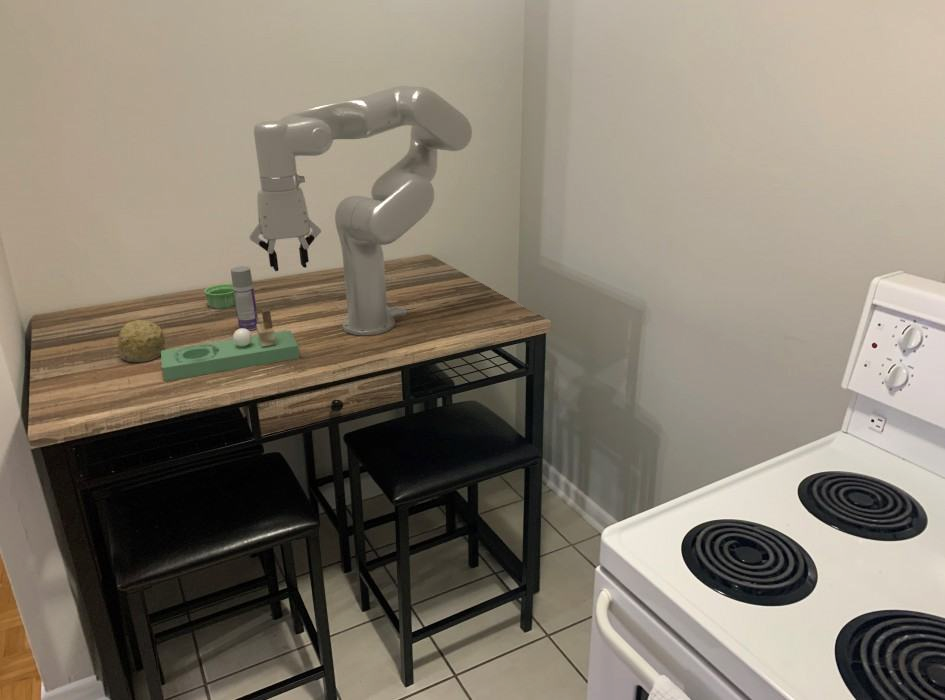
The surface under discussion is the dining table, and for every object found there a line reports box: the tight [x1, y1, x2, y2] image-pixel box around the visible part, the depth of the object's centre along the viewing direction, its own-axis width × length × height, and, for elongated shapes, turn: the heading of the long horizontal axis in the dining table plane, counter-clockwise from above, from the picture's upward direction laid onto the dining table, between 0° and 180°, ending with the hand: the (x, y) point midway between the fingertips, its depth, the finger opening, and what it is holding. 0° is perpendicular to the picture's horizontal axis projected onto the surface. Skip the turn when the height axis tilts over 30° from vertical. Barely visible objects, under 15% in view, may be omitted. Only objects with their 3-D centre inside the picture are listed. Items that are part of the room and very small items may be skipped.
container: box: [230, 265, 260, 332], centre depth 177 cm, size 5×5×15 cm
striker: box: [256, 307, 276, 347], centre depth 161 cm, size 3×6×7 cm, turn 23°
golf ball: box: [232, 328, 253, 347], centre depth 160 cm, size 4×4×4 cm
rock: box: [117, 319, 166, 363], centre depth 164 cm, size 10×11×10 cm
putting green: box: [160, 329, 300, 382], centre depth 161 cm, size 28×10×3 cm, turn 112°
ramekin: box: [204, 283, 236, 310], centre depth 195 cm, size 9×9×4 cm
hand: (289, 266), depth 159 cm, fingers open, 5 cm apart
